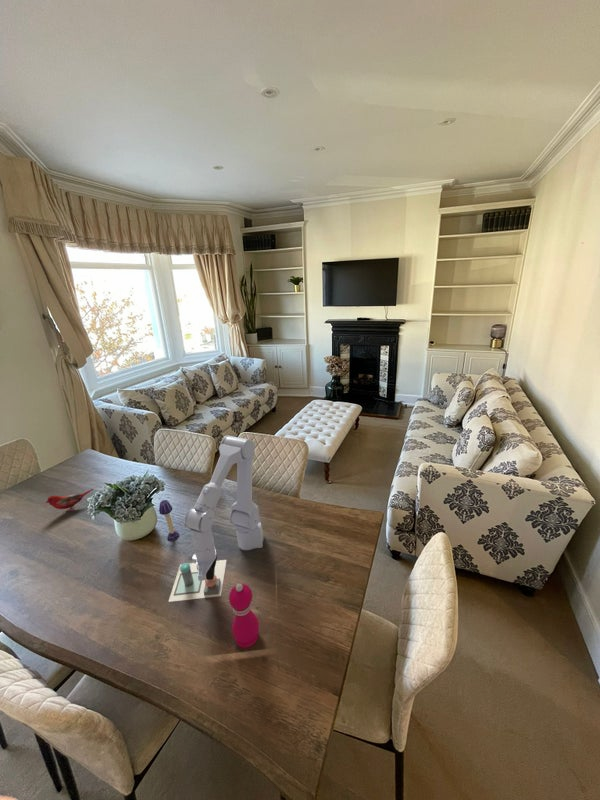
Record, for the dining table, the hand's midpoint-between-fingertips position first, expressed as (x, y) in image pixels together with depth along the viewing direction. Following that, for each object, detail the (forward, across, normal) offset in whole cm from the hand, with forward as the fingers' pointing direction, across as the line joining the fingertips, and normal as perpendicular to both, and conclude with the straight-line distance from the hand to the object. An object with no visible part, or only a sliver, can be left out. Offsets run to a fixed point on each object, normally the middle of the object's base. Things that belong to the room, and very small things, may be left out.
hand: (210, 577), depth 102 cm
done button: (+3, 0, 0) cm, 3 cm away
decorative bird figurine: (+6, -50, -70) cm, 86 cm away
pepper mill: (+6, +16, +12) cm, 21 cm away
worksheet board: (+6, -4, -5) cm, 9 cm away
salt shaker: (+5, -3, -8) cm, 10 cm away
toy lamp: (+6, -26, -20) cm, 33 cm away
